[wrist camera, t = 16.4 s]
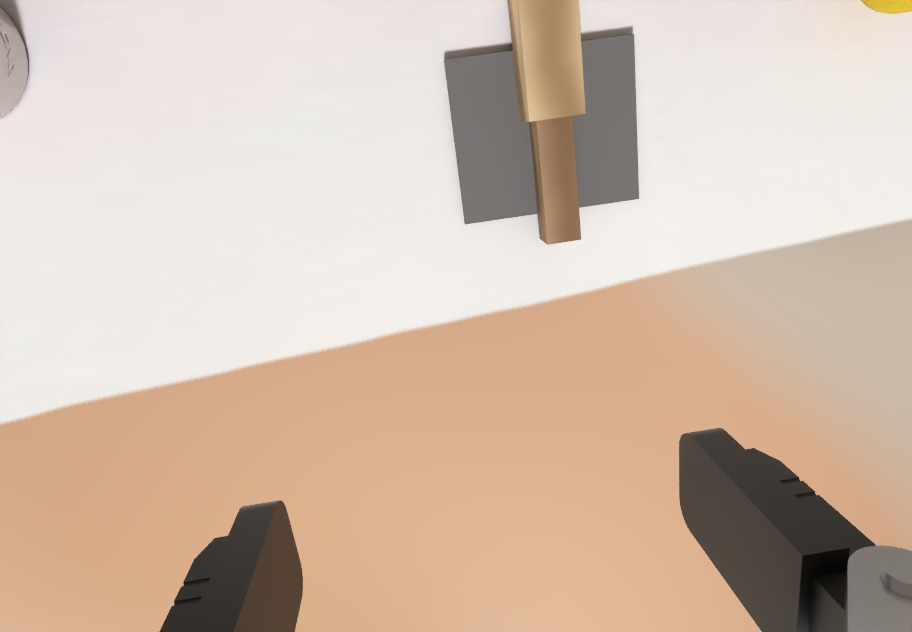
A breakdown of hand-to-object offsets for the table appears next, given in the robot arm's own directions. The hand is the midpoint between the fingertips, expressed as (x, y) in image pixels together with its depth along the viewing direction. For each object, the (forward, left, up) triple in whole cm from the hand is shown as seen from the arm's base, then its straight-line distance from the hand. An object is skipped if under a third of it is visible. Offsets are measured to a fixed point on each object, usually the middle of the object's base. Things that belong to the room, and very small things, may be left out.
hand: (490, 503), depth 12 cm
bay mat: (+10, +6, -36) cm, 38 cm away
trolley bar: (+10, +7, -36) cm, 37 cm away
